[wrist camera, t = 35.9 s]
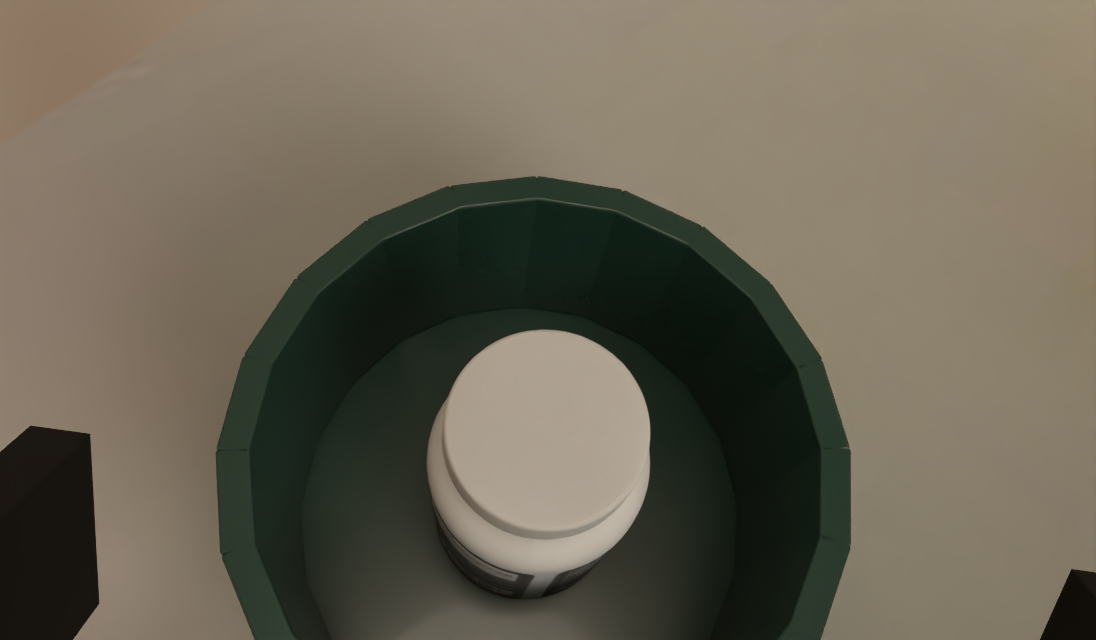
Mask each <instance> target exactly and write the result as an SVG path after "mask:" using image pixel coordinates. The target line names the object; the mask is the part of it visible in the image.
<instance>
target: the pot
mask: <svg viewBox="0 0 1096 640" xmlns="http://www.w3.org/2000/svg"><path fill="white" fill-rule="evenodd" d="M297 278H298V279H295V280H294V281H293V282H292V284H291V285H290V287H289V288H288V290H287V291H286V293H285V294H284V296H283V297H282V299H281V300H280V302H279V303H278V305H277V306H276V308H275V309H274V311H273V312H272V314H271V315H270V317H269V318H268V320H267V321H266V323H265V324H264V326H263V327H262V329H261V330H260V332H259V333H258V335H257V336H256V338H255V339H254V341H253V342H252V344H251V345H250V346H249V348H248V349H247V351H246V352H245V357H243V358H242V361H241V364H240V368H239V371H238V375H237V378H236V382H235V385H234V389H233V392H232V396H231V399H230V403H229V406H228V410H227V413H226V417H225V420H224V424H223V427H222V431H221V434H220V438H219V441H218V445H217V451H216V473H217V494H218V515H219V536H220V553H221V554H222V560H223V562H224V564H225V567H226V569H227V572H228V574H229V577H230V579H231V582H232V584H233V587H234V589H235V592H236V594H237V597H238V599H239V602H240V604H241V607H242V609H243V612H244V614H245V617H246V619H247V622H248V624H249V626H250V629H251V631H252V634H253V636H254V639H255V640H820V639H821V636H822V633H823V630H824V627H825V624H826V621H827V618H828V615H829V612H830V609H831V606H832V603H833V600H834V597H835V594H836V591H837V587H838V584H839V581H840V578H841V575H842V572H843V569H844V566H845V563H846V560H847V557H848V554H849V551H850V545H851V451H850V449H849V444H848V441H847V437H846V434H845V431H844V428H843V425H842V422H841V418H840V415H839V412H838V409H837V406H836V402H835V399H834V396H833V393H832V390H831V387H830V383H829V380H828V377H827V374H826V371H825V367H824V364H823V362H822V361H821V359H822V358H821V356H820V355H819V353H818V352H817V350H816V349H815V347H814V346H813V345H812V343H811V342H810V340H809V339H808V337H807V336H806V334H805V333H804V331H803V330H802V328H801V327H800V325H799V324H798V322H797V321H796V319H795V318H794V316H793V315H792V313H791V312H790V310H789V309H788V307H787V306H786V304H785V303H784V301H783V300H782V299H781V297H780V296H779V294H778V293H777V291H776V290H775V288H774V287H773V285H772V284H770V282H769V281H768V280H767V279H765V278H764V277H763V276H762V275H761V274H759V273H758V272H757V271H756V270H755V269H753V268H752V267H751V266H750V265H749V264H748V263H746V262H745V261H744V260H743V259H742V258H740V257H739V256H738V255H737V254H736V253H735V252H733V251H732V250H731V249H730V248H729V247H727V246H726V245H725V244H724V243H723V242H721V241H720V240H719V239H718V238H717V237H716V236H714V235H713V234H712V233H711V232H710V231H708V230H707V229H706V228H705V227H702V226H701V225H699V224H697V223H695V222H692V221H690V220H688V219H686V218H684V217H681V216H679V215H677V214H675V213H673V212H671V211H668V210H666V209H664V208H662V207H660V206H657V205H655V204H653V203H651V202H649V201H647V200H644V199H642V198H640V197H638V196H636V195H633V194H631V193H629V192H627V191H623V192H622V190H620V189H615V188H609V187H602V186H596V185H590V184H584V183H578V182H571V181H565V180H559V179H553V178H547V177H541V176H539V177H537V178H536V177H534V176H532V177H523V178H515V179H506V180H497V181H488V182H479V183H470V184H461V185H453V186H451V188H450V187H449V186H447V187H445V188H442V189H440V190H437V191H435V192H432V193H430V194H428V195H425V196H423V197H420V198H418V199H415V200H413V201H411V202H408V203H406V204H403V205H401V206H398V207H396V208H393V209H391V210H389V211H386V212H384V213H381V214H379V215H376V216H374V217H372V218H369V219H368V221H365V222H364V223H362V224H361V225H360V226H359V227H357V228H356V229H355V230H354V231H352V232H351V233H350V234H349V235H347V236H346V237H345V238H344V239H342V240H341V241H340V242H339V243H338V244H336V245H335V246H334V247H333V248H331V249H330V250H329V251H328V252H326V253H325V254H324V255H323V256H321V257H320V258H319V259H318V260H316V261H315V262H314V263H313V264H311V265H310V266H309V267H308V268H307V269H305V270H304V271H303V272H302V273H300V274H299V275H298V277H297ZM532 330H558V331H565V332H569V333H573V334H576V335H579V336H582V337H585V338H587V339H589V340H591V341H593V342H595V343H597V344H599V345H601V346H602V347H603V348H605V349H607V350H608V351H609V352H611V353H612V354H613V355H614V356H615V357H616V358H618V359H619V360H620V361H621V362H622V363H623V364H624V365H625V367H626V368H627V369H628V370H629V371H630V373H631V374H632V376H633V377H634V379H635V381H636V382H637V384H638V386H639V388H640V390H641V392H642V394H643V396H644V399H645V403H646V406H647V410H648V414H649V419H650V446H649V454H650V473H649V482H648V487H647V491H646V495H645V498H644V501H643V504H642V506H641V508H640V510H639V513H638V514H637V516H636V518H635V520H634V521H633V523H632V525H631V526H630V528H629V529H628V531H627V532H626V533H625V535H624V536H623V537H622V538H621V540H620V541H619V542H618V543H617V544H616V545H615V546H614V547H613V548H612V549H611V550H610V551H609V552H608V553H607V554H606V555H605V556H604V557H603V558H602V559H601V560H600V561H599V562H598V563H597V564H596V565H595V566H594V567H593V568H592V569H591V570H590V571H589V572H588V573H587V574H586V575H585V576H584V577H583V578H582V579H581V580H579V581H578V582H576V583H575V584H574V585H572V586H570V587H569V588H567V589H565V590H562V591H560V592H558V593H555V594H552V595H548V596H544V597H540V598H532V599H517V598H510V597H504V596H501V595H497V594H494V593H492V592H489V591H487V590H485V589H483V588H481V587H479V586H478V585H476V584H475V583H473V582H472V581H471V580H469V579H468V578H467V577H466V576H465V575H464V574H463V573H462V572H461V571H460V570H459V569H458V568H457V567H456V566H455V564H454V563H453V562H452V560H451V559H450V558H449V556H448V554H447V553H446V551H445V549H444V547H443V545H442V542H441V540H440V537H439V534H438V531H437V526H436V520H435V514H434V509H433V504H432V498H431V493H430V489H429V484H428V474H427V451H428V442H429V438H430V434H431V430H432V427H433V424H434V421H435V419H436V416H437V414H438V412H439V410H440V409H441V407H442V405H443V404H444V402H445V400H446V399H447V398H448V396H449V394H450V391H451V389H452V387H453V385H454V383H455V381H456V379H457V377H458V376H459V374H460V373H461V372H462V370H463V369H464V367H465V366H466V365H467V364H468V363H469V362H470V361H471V360H472V359H473V358H474V357H475V356H476V355H477V354H478V353H480V352H481V351H482V350H483V349H485V348H486V347H487V346H489V345H491V344H493V343H494V342H496V341H498V340H500V339H502V338H504V337H507V336H510V335H513V334H516V333H520V332H525V331H532Z"/></svg>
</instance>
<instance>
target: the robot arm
mask: <svg viewBox="0 0 1096 640" xmlns="http://www.w3.org/2000/svg"><path fill="white" fill-rule="evenodd" d="M98 604H99V591H98V572H97V554H96V535H95V516H94V498H93V479H92V460H91V442H90V434H87V433H80V432H72V431H65V430H58V429H51V428H43V427H36V426H30V427H29V428H27V429H26V430H25V431H24V432H23V433H22V434H20V435H19V436H18V437H17V438H16V439H15V440H13V441H12V442H11V443H10V444H9V445H8V446H7V447H5V448H4V449H3V450H2V451H1V452H0V640H73V639H74V637H75V636H76V635H77V633H78V632H79V630H80V629H81V628H82V626H83V625H84V624H85V622H86V621H87V619H88V618H89V617H90V615H91V614H92V613H93V611H94V610H95V609H96V607H97V606H98ZM1040 640H1096V573H1095V572H1088V571H1081V570H1074V569H1071V571H1070V574H1069V576H1068V578H1067V580H1066V583H1065V585H1064V587H1063V589H1062V591H1061V594H1060V596H1059V598H1058V600H1057V603H1056V605H1055V607H1054V609H1053V612H1052V614H1051V616H1050V618H1049V621H1048V623H1047V625H1046V627H1045V629H1044V632H1043V634H1042V636H1041V638H1040Z"/></svg>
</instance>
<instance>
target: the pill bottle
mask: <svg viewBox="0 0 1096 640" xmlns="http://www.w3.org/2000/svg"><path fill="white" fill-rule="evenodd" d="M649 446H650V419H649V414H648V410H647V406H646V403H645V399H644V396H643V394H642V392H641V390H640V388H639V386H638V384H637V382H636V381H635V379H634V377H633V376H632V374H631V373H630V371H629V370H628V369H627V368H626V367H625V365H624V364H623V363H622V362H621V361H620V360H619V359H618V358H616V357H615V356H614V355H613V354H612V353H611V352H609V351H608V350H607V349H605V348H603V347H602V346H601V345H599V344H597V343H595V342H593V341H591V340H589V339H587V338H585V337H582V336H579V335H576V334H573V333H569V332H565V331H558V330H532V331H525V332H520V333H516V334H513V335H510V336H507V337H504V338H502V339H500V340H498V341H496V342H494V343H493V344H491V345H489V346H487V347H486V348H485V349H483V350H482V351H481V352H480V353H478V354H477V355H476V356H475V357H474V358H473V359H472V360H471V361H470V362H469V363H468V364H467V365H466V366H465V367H464V369H463V370H462V372H461V373H460V374H459V376H458V377H457V379H456V381H455V383H454V385H453V387H452V389H451V391H450V394H449V396H448V398H447V399H446V400H445V402H444V404H443V405H442V407H441V409H440V410H439V412H438V414H437V416H436V419H435V421H434V424H433V427H432V430H431V434H430V438H429V442H428V451H427V474H428V484H429V489H430V493H431V498H432V504H433V509H434V514H435V520H436V526H437V531H438V534H439V537H440V540H441V542H442V545H443V547H444V549H445V551H446V553H447V554H448V556H449V558H450V559H451V560H452V562H453V563H454V564H455V566H456V567H457V568H458V569H459V570H460V571H461V572H462V573H463V574H464V575H465V576H466V577H467V578H468V579H469V580H471V581H472V582H473V583H475V584H476V585H478V586H479V587H481V588H483V589H485V590H487V591H489V592H492V593H494V594H497V595H501V596H504V597H510V598H517V599H532V598H540V597H544V596H548V595H552V594H555V593H558V592H560V591H562V590H565V589H567V588H569V587H570V586H572V585H574V584H575V583H576V582H578V581H579V580H581V579H582V578H583V577H584V576H585V575H586V574H587V573H588V572H589V571H590V570H591V569H592V568H593V567H594V566H595V565H596V564H597V563H598V562H599V561H600V560H601V559H602V558H603V557H604V556H605V555H606V554H607V553H608V552H609V551H610V550H611V549H612V548H613V547H614V546H615V545H616V544H617V543H618V542H619V541H620V540H621V538H622V537H623V536H624V535H625V533H626V532H627V531H628V529H629V528H630V526H631V525H632V523H633V521H634V520H635V518H636V516H637V514H638V513H639V510H640V508H641V506H642V504H643V501H644V498H645V495H646V491H647V487H648V482H649V473H650V454H649Z"/></svg>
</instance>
